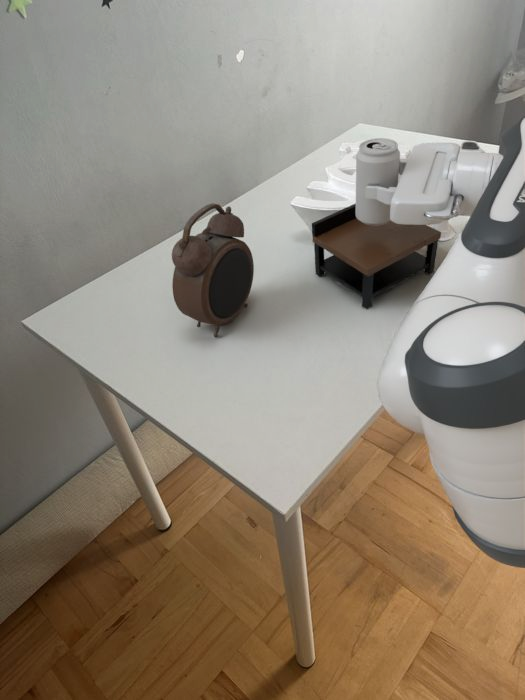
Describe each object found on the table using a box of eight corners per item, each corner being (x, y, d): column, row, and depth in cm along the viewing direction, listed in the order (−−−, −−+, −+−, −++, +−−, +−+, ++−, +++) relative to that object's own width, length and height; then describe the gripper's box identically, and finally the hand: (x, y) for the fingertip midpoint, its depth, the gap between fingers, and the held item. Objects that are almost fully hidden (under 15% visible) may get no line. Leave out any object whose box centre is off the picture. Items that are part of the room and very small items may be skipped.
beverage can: (370, 205, 86) (372, 133, 78) (403, 214, 82) (409, 140, 74) (347, 221, 83) (347, 148, 75) (380, 232, 79) (384, 157, 71)
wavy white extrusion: (359, 260, 94) (360, 208, 86) (284, 240, 101) (280, 191, 94) (429, 180, 113) (434, 132, 106) (361, 169, 121) (363, 124, 114)
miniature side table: (435, 272, 88) (443, 219, 81) (366, 310, 83) (368, 257, 76) (379, 241, 97) (382, 191, 90) (313, 274, 92) (311, 223, 85)
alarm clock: (217, 351, 80) (191, 241, 66) (182, 338, 83) (150, 230, 69) (266, 299, 88) (252, 192, 74) (232, 289, 91) (213, 184, 78)
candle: (431, 224, 100) (439, 165, 92) (458, 230, 97) (469, 170, 89) (421, 237, 97) (428, 178, 89) (448, 244, 94) (459, 183, 86)
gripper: (454, 240, 69) (355, 231, 74) (468, 175, 82) (383, 170, 87) (462, 197, 65) (355, 190, 69) (475, 135, 78) (385, 133, 83)
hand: (371, 179), depth 78 cm, fingers closed on beverage can, 6 cm apart
